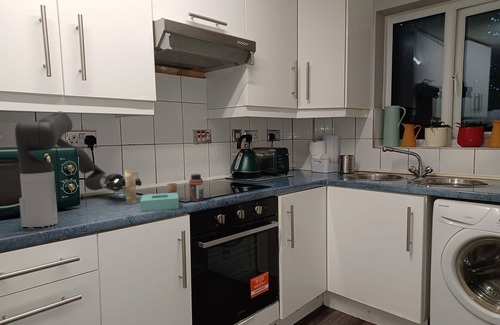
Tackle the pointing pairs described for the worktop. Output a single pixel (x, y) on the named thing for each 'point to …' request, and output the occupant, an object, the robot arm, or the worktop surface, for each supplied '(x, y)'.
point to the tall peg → (130, 186)
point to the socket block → (159, 202)
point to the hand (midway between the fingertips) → (131, 184)
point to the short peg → (172, 188)
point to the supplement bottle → (196, 188)
